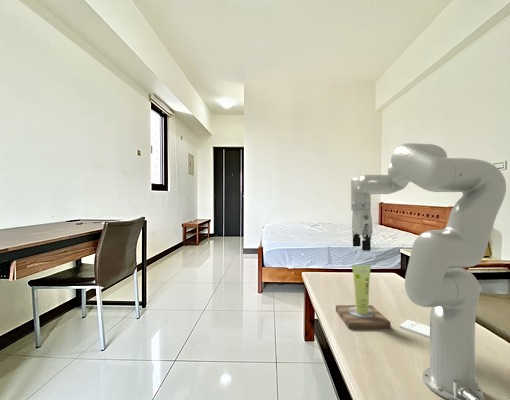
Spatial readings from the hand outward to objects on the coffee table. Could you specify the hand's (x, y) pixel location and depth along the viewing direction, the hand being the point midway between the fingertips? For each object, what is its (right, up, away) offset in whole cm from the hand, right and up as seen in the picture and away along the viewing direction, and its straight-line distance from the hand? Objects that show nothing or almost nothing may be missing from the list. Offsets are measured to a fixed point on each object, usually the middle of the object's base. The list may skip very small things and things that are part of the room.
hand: (361, 248), depth 107 cm
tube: (0, -27, 0) cm, 27 cm away
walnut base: (0, -29, 0) cm, 29 cm away
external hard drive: (+19, -30, -9) cm, 37 cm away
